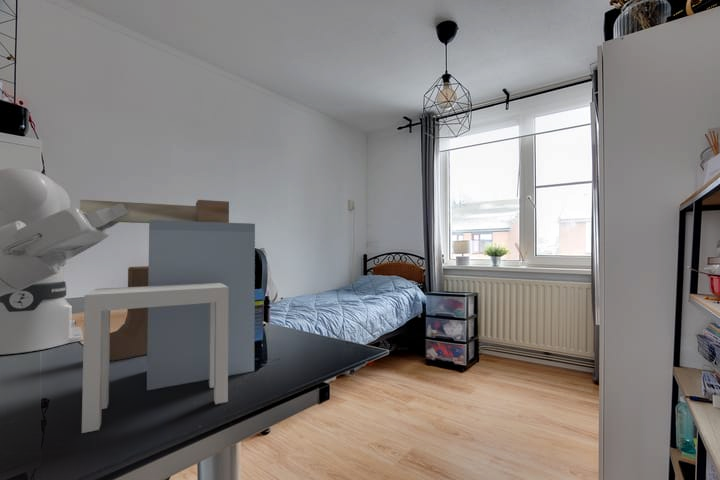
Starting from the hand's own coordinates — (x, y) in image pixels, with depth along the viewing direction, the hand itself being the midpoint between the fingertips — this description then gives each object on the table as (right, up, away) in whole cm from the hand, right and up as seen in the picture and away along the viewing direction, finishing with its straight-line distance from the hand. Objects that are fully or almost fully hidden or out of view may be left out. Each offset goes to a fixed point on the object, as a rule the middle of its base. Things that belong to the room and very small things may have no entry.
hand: (127, 209), depth 55 cm
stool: (+10, -28, -8) cm, 31 cm away
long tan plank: (+4, -2, +2) cm, 5 cm away
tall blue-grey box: (+10, -28, +5) cm, 30 cm away
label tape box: (+11, -29, +23) cm, 39 cm away
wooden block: (-9, -29, +14) cm, 33 cm away
